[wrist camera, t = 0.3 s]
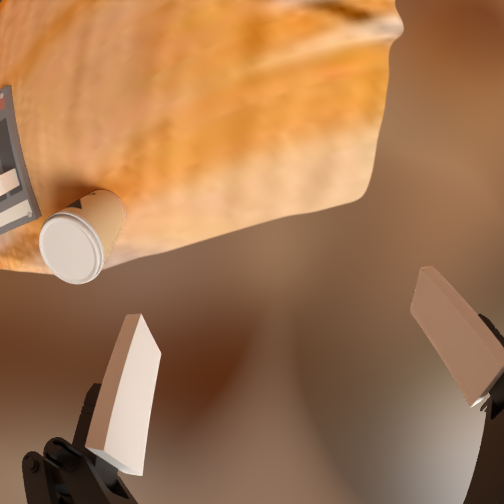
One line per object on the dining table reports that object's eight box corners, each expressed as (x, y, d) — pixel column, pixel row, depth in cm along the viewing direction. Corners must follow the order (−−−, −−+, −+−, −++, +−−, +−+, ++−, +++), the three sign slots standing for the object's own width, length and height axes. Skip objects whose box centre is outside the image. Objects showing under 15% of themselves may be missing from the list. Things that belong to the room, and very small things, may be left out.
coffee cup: (102, 170, 34) (58, 197, 23) (144, 216, 38) (115, 258, 27) (68, 212, 36) (27, 248, 26) (107, 252, 40) (76, 298, 29)
